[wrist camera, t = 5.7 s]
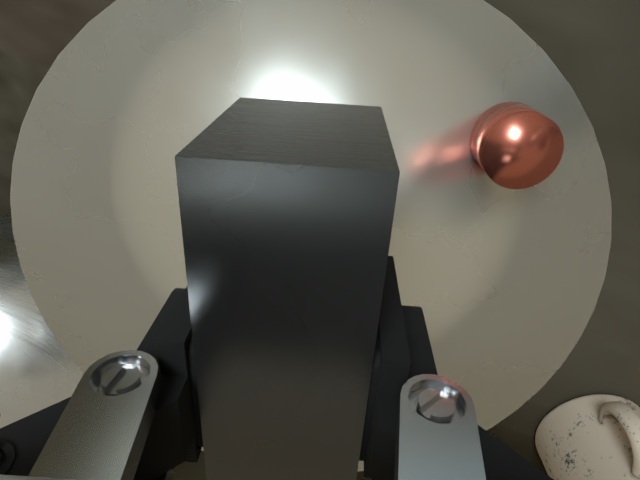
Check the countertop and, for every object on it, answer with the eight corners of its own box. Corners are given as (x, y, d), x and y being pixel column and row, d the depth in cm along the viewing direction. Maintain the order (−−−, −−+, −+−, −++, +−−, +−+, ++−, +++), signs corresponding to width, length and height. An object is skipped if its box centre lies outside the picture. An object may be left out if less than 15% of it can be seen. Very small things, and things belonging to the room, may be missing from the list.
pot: (-84, 142, 28) (-309, 216, 18) (158, 158, 28) (61, 240, 18) (10, 407, 39) (-102, 543, 29) (187, 419, 38) (135, 560, 29)
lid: (-37, -70, 10) (-399, -135, 5) (692, -29, 10) (1042, -56, 5) (92, 425, 18) (-8, 591, 13) (508, 461, 17) (572, 646, 12)
